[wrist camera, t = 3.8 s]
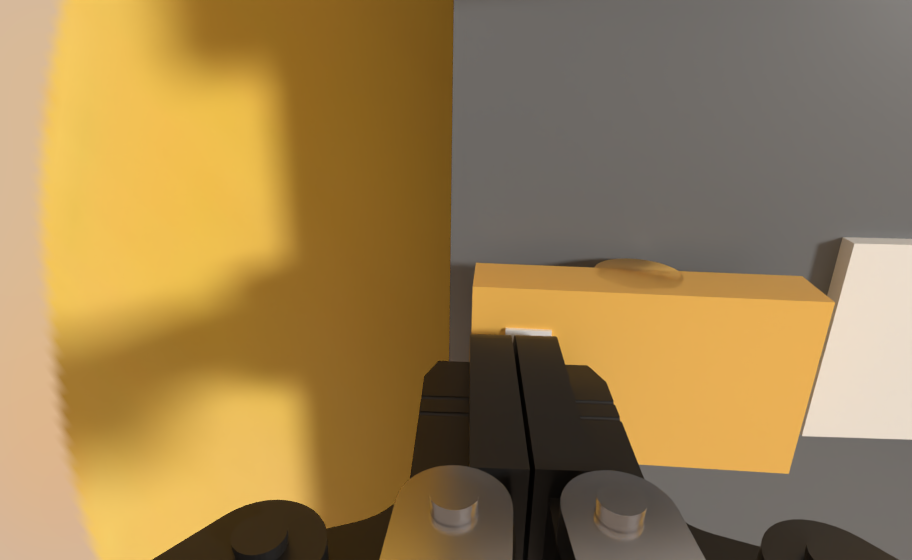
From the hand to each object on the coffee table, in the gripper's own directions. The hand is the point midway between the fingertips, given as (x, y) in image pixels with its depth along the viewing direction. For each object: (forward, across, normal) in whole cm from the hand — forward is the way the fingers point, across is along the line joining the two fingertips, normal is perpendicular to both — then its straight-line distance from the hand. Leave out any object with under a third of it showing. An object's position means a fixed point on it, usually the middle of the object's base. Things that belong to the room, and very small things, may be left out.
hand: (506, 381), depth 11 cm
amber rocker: (+1, -2, 0) cm, 3 cm away
